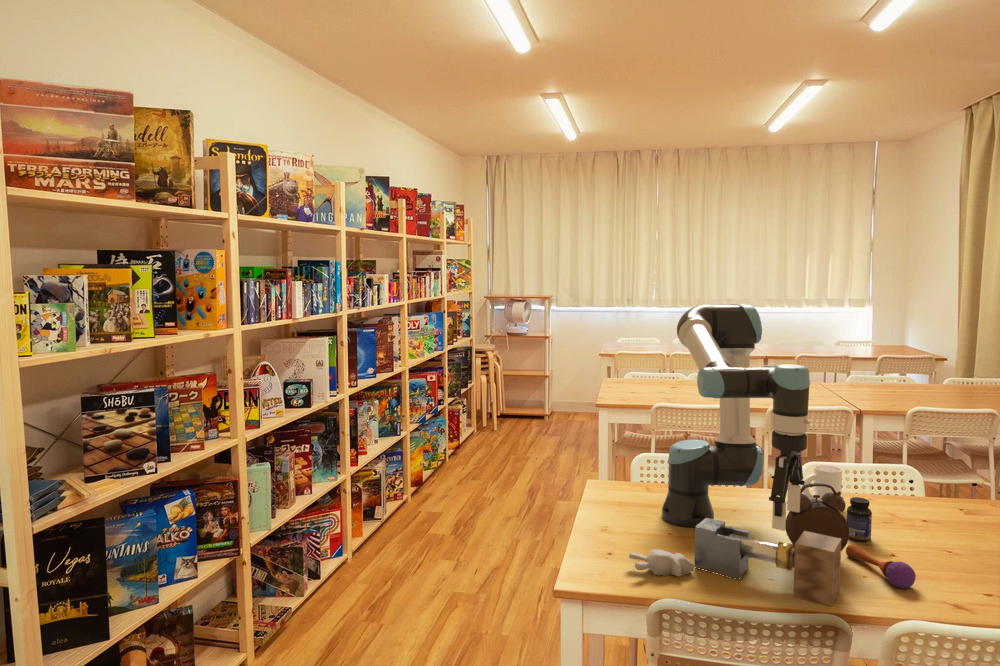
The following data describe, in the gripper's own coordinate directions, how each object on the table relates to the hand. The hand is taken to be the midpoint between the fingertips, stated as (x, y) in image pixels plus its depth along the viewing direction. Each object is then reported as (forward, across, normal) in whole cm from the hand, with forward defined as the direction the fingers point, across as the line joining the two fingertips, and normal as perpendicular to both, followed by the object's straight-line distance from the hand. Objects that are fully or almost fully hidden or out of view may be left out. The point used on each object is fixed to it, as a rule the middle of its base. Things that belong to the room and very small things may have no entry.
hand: (786, 519), depth 155 cm
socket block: (+16, 0, -7) cm, 17 cm away
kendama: (+16, +20, -17) cm, 31 cm away
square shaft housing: (+16, 0, +15) cm, 22 cm away
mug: (+17, +63, +4) cm, 65 cm away
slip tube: (+12, 0, +3) cm, 12 cm away
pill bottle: (+16, +41, -10) cm, 45 cm away
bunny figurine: (+16, -11, +26) cm, 33 cm away
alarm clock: (+16, +20, -3) cm, 26 cm away
